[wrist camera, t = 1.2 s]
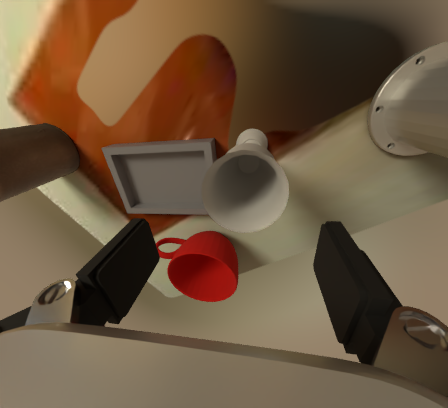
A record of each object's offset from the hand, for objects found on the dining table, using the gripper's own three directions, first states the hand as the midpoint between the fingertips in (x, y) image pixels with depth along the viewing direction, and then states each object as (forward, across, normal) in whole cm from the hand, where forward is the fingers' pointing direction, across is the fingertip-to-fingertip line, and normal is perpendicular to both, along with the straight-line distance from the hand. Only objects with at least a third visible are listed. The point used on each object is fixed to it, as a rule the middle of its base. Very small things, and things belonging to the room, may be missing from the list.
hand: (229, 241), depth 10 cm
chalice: (+24, -1, 0) cm, 24 cm away
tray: (+24, +15, +5) cm, 28 cm away
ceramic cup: (+24, +10, +20) cm, 32 cm away
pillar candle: (+24, +37, -1) cm, 44 cm away
